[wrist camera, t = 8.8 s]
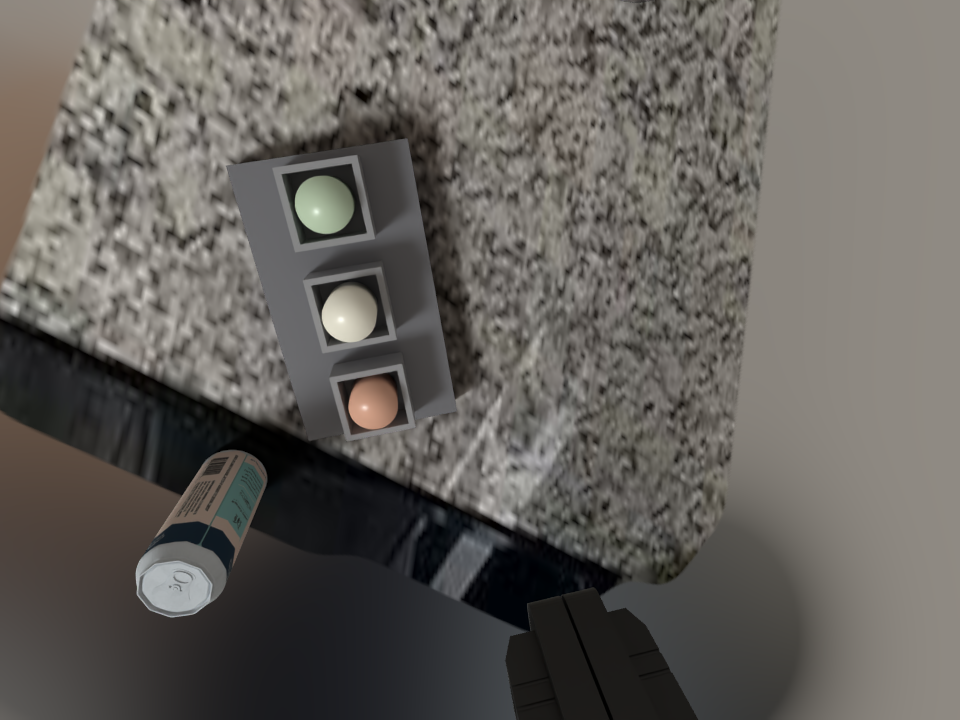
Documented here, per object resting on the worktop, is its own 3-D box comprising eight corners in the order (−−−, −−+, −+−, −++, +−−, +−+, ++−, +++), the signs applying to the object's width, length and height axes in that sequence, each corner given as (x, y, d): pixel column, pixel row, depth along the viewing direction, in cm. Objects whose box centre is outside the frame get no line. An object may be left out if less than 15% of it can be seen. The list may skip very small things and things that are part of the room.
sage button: (349, 171, 32) (345, 171, 30) (361, 224, 33) (358, 228, 31) (296, 180, 32) (288, 180, 29) (310, 232, 33) (303, 237, 30)
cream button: (371, 277, 34) (370, 286, 31) (382, 324, 35) (381, 337, 32) (321, 286, 33) (315, 296, 31) (334, 333, 34) (329, 346, 32)
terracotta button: (392, 366, 37) (392, 380, 34) (401, 406, 38) (402, 423, 35) (347, 374, 36) (343, 390, 34) (357, 415, 38) (354, 433, 35)
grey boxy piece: (406, 140, 34) (408, 135, 30) (454, 400, 41) (460, 426, 37) (235, 166, 33) (212, 165, 29) (312, 428, 40) (303, 458, 36)
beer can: (191, 484, 40) (112, 605, 29) (219, 436, 39) (149, 541, 28) (251, 509, 41) (198, 633, 30) (280, 463, 40) (236, 573, 29)
